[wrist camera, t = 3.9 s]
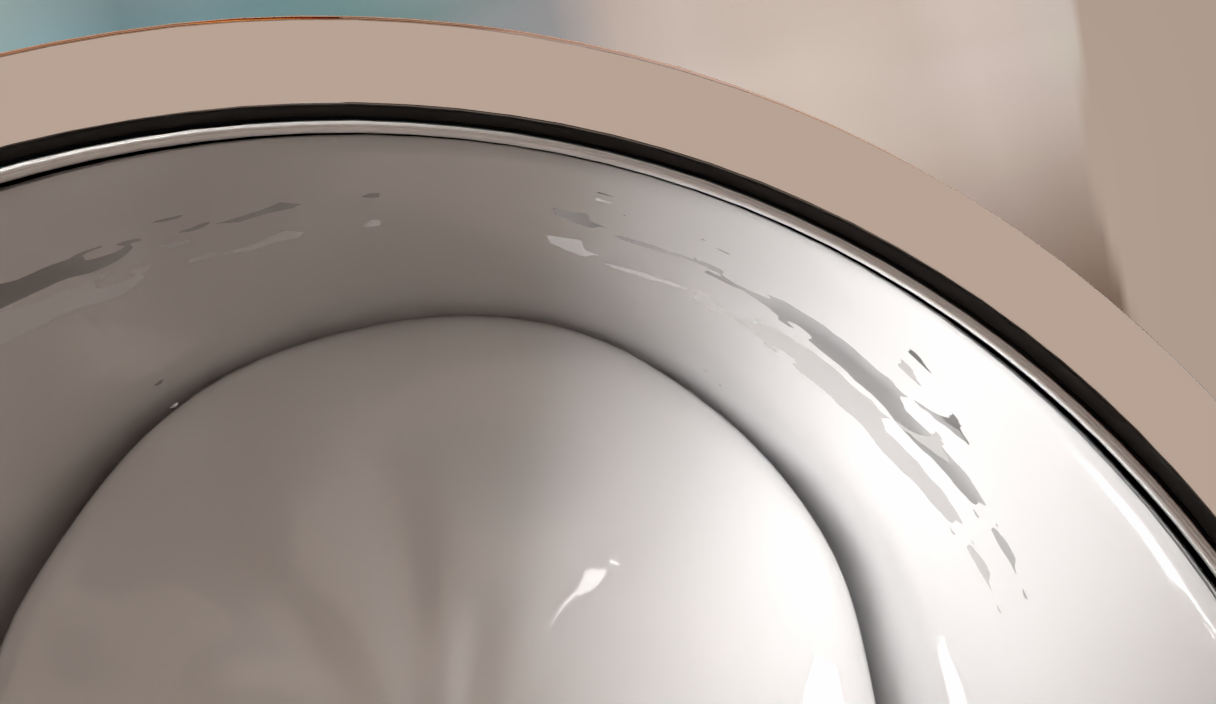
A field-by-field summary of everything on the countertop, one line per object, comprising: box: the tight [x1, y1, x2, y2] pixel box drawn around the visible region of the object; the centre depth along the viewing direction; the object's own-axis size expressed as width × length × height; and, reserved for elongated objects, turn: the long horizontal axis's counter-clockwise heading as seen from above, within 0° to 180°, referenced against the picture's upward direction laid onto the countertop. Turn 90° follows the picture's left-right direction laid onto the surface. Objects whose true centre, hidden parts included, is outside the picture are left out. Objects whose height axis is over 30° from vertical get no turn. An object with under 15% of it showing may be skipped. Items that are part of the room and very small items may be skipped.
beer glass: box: [0, 15, 1216, 704], centre depth 9 cm, size 7×7×15 cm
